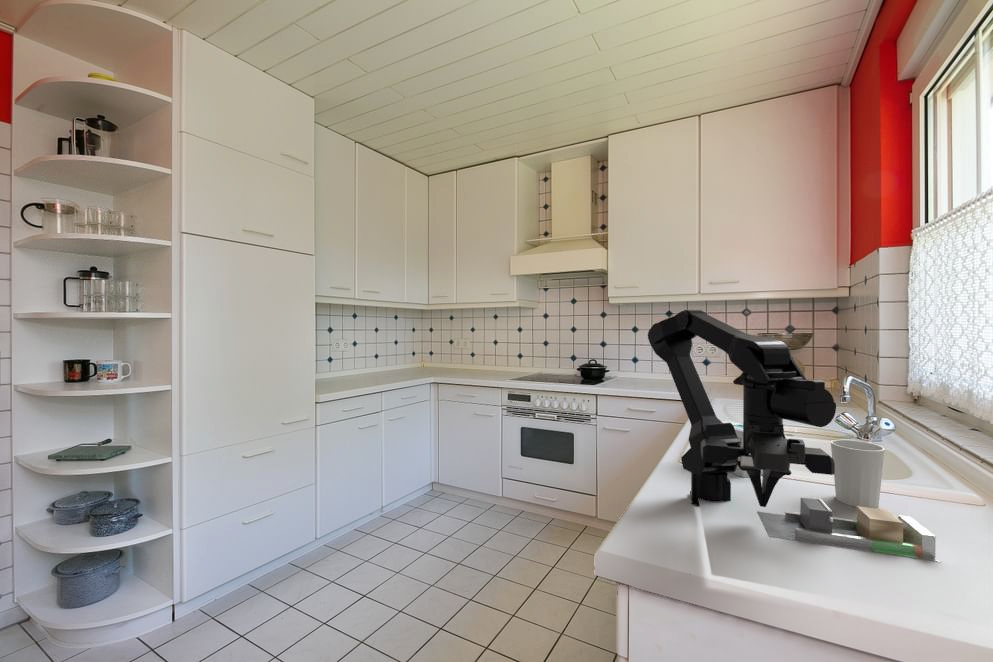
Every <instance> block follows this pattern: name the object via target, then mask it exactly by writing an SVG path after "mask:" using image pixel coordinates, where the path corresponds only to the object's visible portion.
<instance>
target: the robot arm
mask: <svg viewBox="0 0 993 662" xmlns="http://www.w3.org/2000/svg"><path fill="white" fill-rule="evenodd" d="M697 337H698V338H700V339H703V340H704V341H706V342H708V344H709V343H710V344H711V345H712V346H715V347H716V348H718V349H719V350H721V351H723V352H725V354H727V355H728V359H729V361H730V362H731V364H733V365H734V366H735V367H736V368H738V369H739V370H740V371H741V374H740V375H739V376H738V377H736V378H734V379H733V382H732V383H733V384H734V385H738V386H743V388H742V389H743V390H742V392H743V393H742V394H743V395H742V396H743V397H742V400H743V401H742V403H743V407H742V409H743V412H742V413H743V414H742V415H743V416H742V418H743V419H742V424H743V448H741V446H740V444H739V443H741V441H740V439H739V438H738V437H737V435H736V432H735V429H734V426H733V425H732V424H731V423H722V422H721V421H722V420H720V419H719V418H718V417H717V414H716V412H715V410H714V407H713V405H712V404H711V402H710V399H709V396H708V394H707V392H706V390H705V387H704V385H703V383H702V380H701V378H700V375H699V373H698V371H697V369H696V367H695V363H694V362H693V359H692V358H691V352H692V347H693V339H695V338H697ZM647 340H648V341H649V345H650V346H651V348H652V350H653V352H654V353H655V355H656V356H658V357H659V358H660V359H661V360H662V361H664V362H665V363H666V365H667V367H668V369H669V372H670V374H671V377H672V379H673V382H674V384H675V387H676V390H677V392H678V394H679V397H680V400H681V403H682V405H683V407H684V409H685V412H686V414H687V417H688V419H689V423H690V425H691V426H690V431H689V436H688V443H689V446H690V448H689V449H688V450H687V451H686V452H685V453H684V454H683V455H682V456H681V457H680V459H681V466H682V469H684V470H686V471H688V472H689V473H690V491H689V496H690V503H691V505H693V506H700V500H702V501H706V502H713V503H714V502H716V503H717V502H731V501H732V498H731V497H732V483H731V479H730V478H728V473H732V472H735V471H736V468H737V465H738V466H739V468H740V469H741V470H743V471H747V473H748V475H749V480H750V482H751V485H752V488H753V491H754V494H755V496H756V500H757V502H758V504H759V506H760V507H761V508H762V507H763V508H766V507H767V505H768V503H769V501H770V498H771V496H772V494H773V491H774V489H775V487H776V486H777V484H778V482H779V481H780V479H782V478H783V477H784V476H791V474H792V471H791V470H790V468H791V465H792V464H794V465H802V466H805V468H806V469H807V470H808V471H809V472H810V473H811V474H818V475H819V474H821V475H829V476H832V475H833V476H834V474H835V463H834V460H833V458H832V456H830V455H829V454H828V453H827V452H826V451H824V450H823V449H822V448H817V447H806V444H805V442H804V439H799V438H798V439H797V438H786V435H785V432H784V431H785V430H784V428H785V427H784V420H785V421H786V420H787V421H791V422H794V423H798V424H799V423H800V424H804V425H807V426H808V425H809V426H813V427H816V428H824V427H826V426H828V425H829V424H830V423H831V422H832V421H833V420H834V418H835V415H836V411H837V403H836V402H835V399H834V397H833V395H832V394H831V392H830V391H829V390H828V389H826V386H825V385H826V384H825V383H826V382H825V381H824V380H819V379H818V380H817V379H809V380H808V379H807V378H806V376H805V375H804V373H803V371H802V370H801V369H800V367H799V365H798V364H797V363H796V361H795V360H794V358H793V356H792V355H791V353H790V351H789V349H790V348H789V346H788V345H787V344H786V343H785V342H783V341H782V340H778V339H775V338H770V337H766V336H761V335H755V334H749V333H746V332H744V331H742V330H739V329H737V328H736V327H733V326H732V325H729V324H728V323H725V322H723V321H721V320H719V319H717V318H715V317H713V316H711V315H709V314H707V313H706V312H705V311H703V310H701V309H684V310H682V311H680V312H678V313H676V314H675V315H672V316H670V317H668V318H666V319H663V320H660V321H659V322H656V323H654V324H652V326H651V328H649V330H648V332H647ZM750 454H751V455H750ZM761 470H763V475H761ZM761 476H762V478H761ZM699 499H700V500H699Z"/></svg>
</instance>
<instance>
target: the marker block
mask: <svg viewBox="0 0 993 662" xmlns="http://www.w3.org/2000/svg"><path fill="white" fill-rule="evenodd" d="M856 520H857V528H856V530H857V531H858V533H859V534H860V535H861V536H862V537H866V538H873V539H880V540H887V541H894V542H901V543H903V522H902V521H900V520H899V519H898V516H896V515H894V514H893V513H892V512H891V511H890V510H888V509H884V508H869V507H860V506H857V507H856Z"/></svg>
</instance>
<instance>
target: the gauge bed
mask: <svg viewBox="0 0 993 662" xmlns="http://www.w3.org/2000/svg"><path fill="white" fill-rule="evenodd" d="M757 515H758V516H759V519H760V521H761V522H762V525H763V526H764V529H765V531H766V532H767V534H768V537H769V538H774V539H775V538H776V539H783V540H790V541H796V542H803V543H809V544H814V545H815V544H816V545H821V546H829V547H836V548H843V549H849V550H855V551H861V552H868V553H869V552H870V553H876V554H881V555H889V556H896V557H902V558H909V559H914V560H922V561H928V562H936V563H942V561H941V560H940V559H939V558H937V557H936V556H935V557H932V556H925V555H923V547H922V546H921V545H915V544H909V543H908V542H907V541H906V540H905V539H904V538H903V543H901V542H894V541H887V540H880V539H873V538H866V537H862V536H861V535H860V534H859V533H858V531H857V530H856V528H857V519H849V518H842V517H834V516H832V518H833V522H832V533H830V532H823V531H816V530H809V529H806V528H805V527H804V525H803V524H802V523H801V521H800V512H795V511H789V510H784V514H778V513H770V512H764V511H757Z"/></svg>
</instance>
